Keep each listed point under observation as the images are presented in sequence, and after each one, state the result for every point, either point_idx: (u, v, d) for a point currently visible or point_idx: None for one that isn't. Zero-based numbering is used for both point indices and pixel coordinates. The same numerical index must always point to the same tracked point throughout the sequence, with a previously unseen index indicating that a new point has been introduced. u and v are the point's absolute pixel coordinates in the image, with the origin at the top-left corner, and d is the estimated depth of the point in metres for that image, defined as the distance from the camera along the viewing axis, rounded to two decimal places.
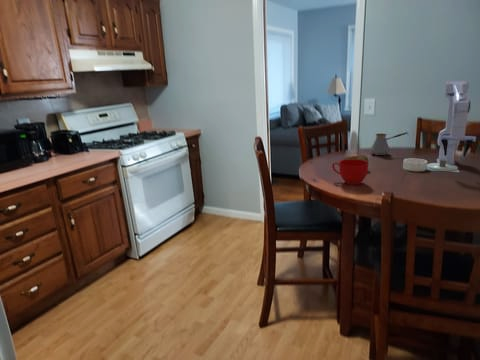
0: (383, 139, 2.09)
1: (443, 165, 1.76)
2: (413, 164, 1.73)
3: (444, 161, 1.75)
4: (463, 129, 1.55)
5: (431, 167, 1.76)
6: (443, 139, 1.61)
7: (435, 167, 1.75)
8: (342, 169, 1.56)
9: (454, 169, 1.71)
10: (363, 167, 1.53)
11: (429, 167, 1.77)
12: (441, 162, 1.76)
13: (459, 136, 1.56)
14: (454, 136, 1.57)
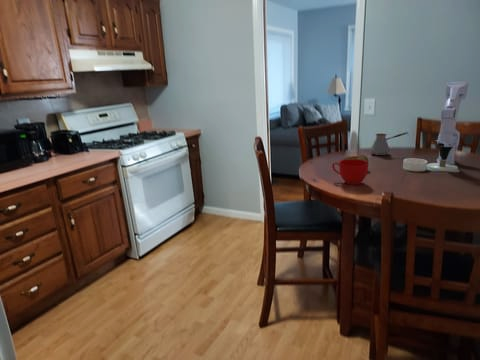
0: (383, 139, 2.09)
1: (443, 165, 1.76)
2: (413, 164, 1.73)
3: (444, 161, 1.75)
4: (441, 133, 1.72)
5: (431, 167, 1.76)
6: None
7: (435, 167, 1.75)
8: (342, 169, 1.56)
9: (454, 169, 1.71)
10: (363, 167, 1.53)
11: (429, 167, 1.77)
12: (441, 162, 1.76)
13: (439, 139, 1.74)
14: None
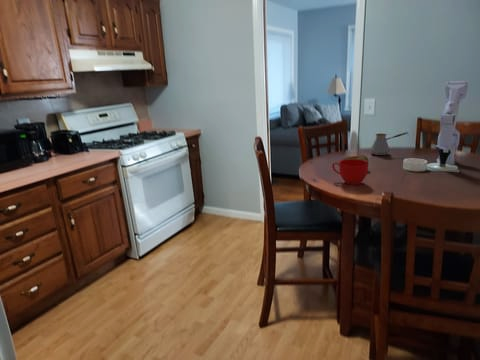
0: (383, 139, 2.09)
1: (443, 165, 1.76)
2: (413, 164, 1.73)
3: None
4: (441, 139, 1.73)
5: (431, 167, 1.76)
6: None
7: (435, 167, 1.75)
8: (342, 169, 1.56)
9: (454, 169, 1.71)
10: (363, 167, 1.53)
11: (429, 167, 1.77)
12: None
13: (438, 144, 1.75)
14: None
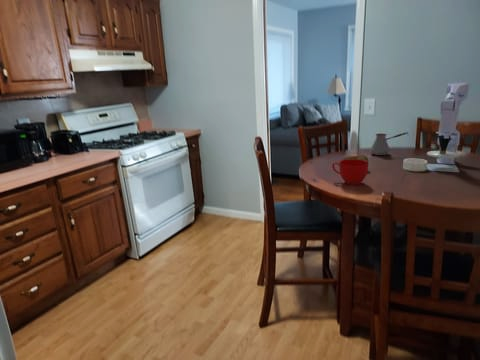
0: (383, 139, 2.09)
1: (443, 152, 1.74)
2: (413, 164, 1.73)
3: None
4: (441, 125, 1.71)
5: (431, 154, 1.74)
6: None
7: (435, 154, 1.74)
8: (342, 169, 1.56)
9: (455, 156, 1.69)
10: (363, 167, 1.53)
11: (429, 154, 1.75)
12: None
13: (439, 131, 1.73)
14: None
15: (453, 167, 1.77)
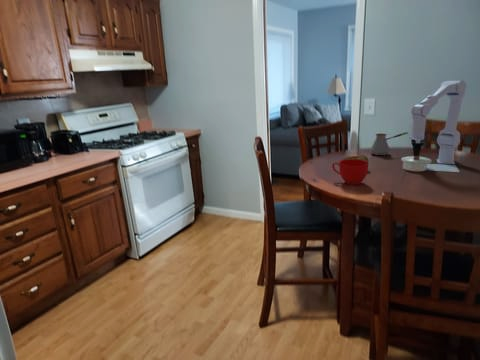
0: (383, 139, 2.09)
1: (417, 158, 1.75)
2: (413, 164, 1.73)
3: None
4: (413, 130, 1.72)
5: (405, 160, 1.75)
6: None
7: (409, 160, 1.75)
8: (342, 169, 1.56)
9: (427, 162, 1.71)
10: (363, 167, 1.52)
11: (403, 160, 1.76)
12: None
13: (411, 136, 1.74)
14: None
15: (453, 167, 1.77)
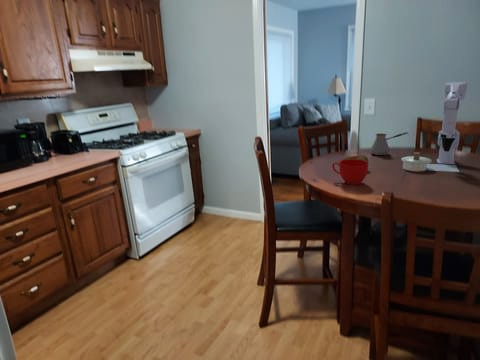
0: (383, 139, 2.09)
1: (417, 158, 1.75)
2: (413, 164, 1.73)
3: (418, 154, 1.75)
4: (444, 125, 1.68)
5: (405, 160, 1.75)
6: None
7: (409, 160, 1.75)
8: (342, 169, 1.56)
9: (427, 162, 1.71)
10: (363, 167, 1.53)
11: (403, 160, 1.76)
12: (415, 155, 1.75)
13: None
14: None
15: (453, 167, 1.77)
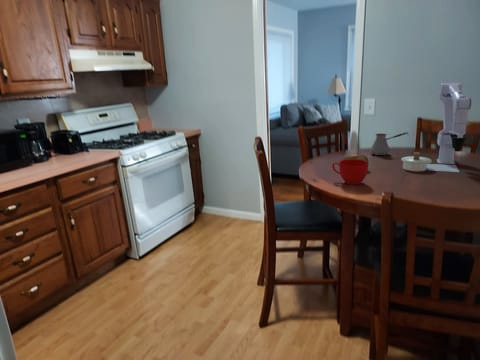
0: (383, 139, 2.09)
1: (417, 158, 1.75)
2: (413, 164, 1.73)
3: (418, 154, 1.75)
4: (454, 124, 1.67)
5: (405, 160, 1.75)
6: None
7: (409, 160, 1.75)
8: (342, 169, 1.56)
9: (427, 162, 1.71)
10: (363, 167, 1.53)
11: (403, 160, 1.76)
12: (415, 155, 1.75)
13: (452, 130, 1.70)
14: None
15: (453, 167, 1.77)
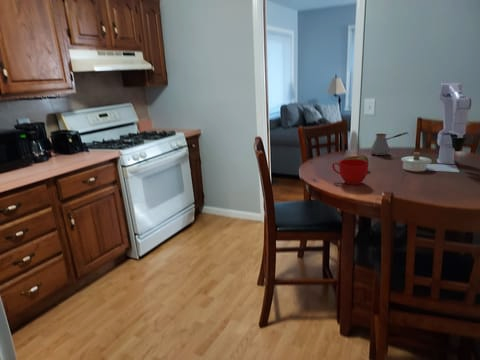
0: (383, 139, 2.09)
1: (417, 158, 1.75)
2: (413, 164, 1.73)
3: (418, 154, 1.75)
4: (454, 124, 1.67)
5: (405, 160, 1.75)
6: None
7: (409, 160, 1.75)
8: (342, 169, 1.56)
9: (427, 162, 1.71)
10: (363, 167, 1.53)
11: (403, 160, 1.76)
12: (415, 155, 1.75)
13: (452, 130, 1.70)
14: None
15: (453, 167, 1.77)
